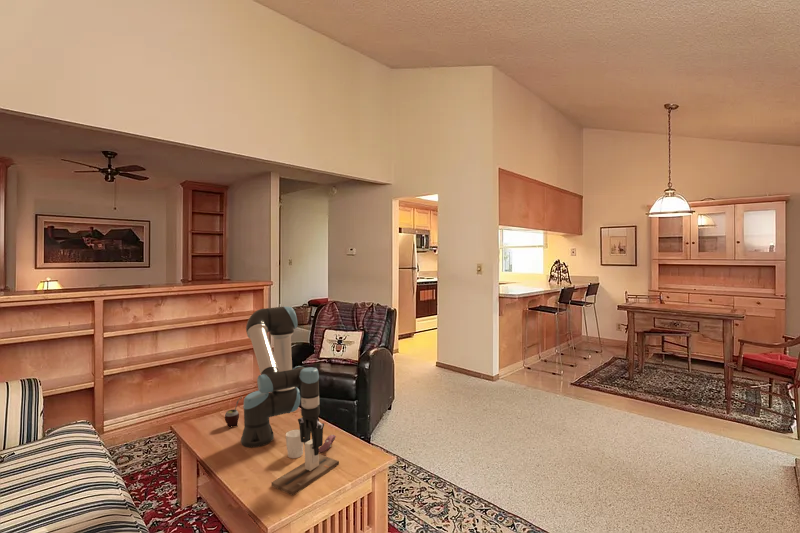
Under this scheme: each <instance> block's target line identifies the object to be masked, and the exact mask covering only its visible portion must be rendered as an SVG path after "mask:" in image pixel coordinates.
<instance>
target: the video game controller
mask: <svg viewBox="0 0 800 533" xmlns="http://www.w3.org/2000/svg"><path fill="white" fill-rule="evenodd" d="M336 438H337V436H336V435H335V434H330V435H328V436H327V437H326V439H325V440H324V443H323V444H322V446H320V447H319V454H322V453H324V452H326V451H328V450H329V449H330V448H331V447H333V443H334V441H335V439H336Z"/></svg>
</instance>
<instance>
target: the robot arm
mask: <svg viewBox="0 0 800 533" xmlns="http://www.w3.org/2000/svg"><path fill="white" fill-rule="evenodd" d="M249 316H250V317H249V318H248V319H247V323H246V327H245V330H246V335H247V338H248V339H250V341H251V344H252V345H251V346H252V348H253V353H254V355H255V359H256V362H257V366H258V370H259V373H260V375H258V376H257V379H256V382H257V390H256V391H253V392H250V393H248V394H247V395H246V396H245V397H244V398H243V406H242V407H243V417H244V418H243V420H244V421H243V423H244V424H243V426H244V427H243V431H242V434H241V438H240V443H241V444H240V445H242V446H243V447H245V448H258V447H263V446H265V445H268V444H270V443H271V442H273V440H274V434H275V433H274V430H273V428H272V426H271V424H270V418H272V417H277V416H280V415H285V414H290V413H294V412H296V411H297V410H299V407H300V406H301V407H300V411H301V412H300V413H301V417H300V418H298V419H297V422H298V426H299V430H300V438H301V442H303V444H304V443H305V442H307V441H309V440H311V439H312V442H313V447H312V463H313V464H314V463H316V462H317V461H318V454H320V452H319V448H320V447H321V446H322V445H323V444H324V443H323V440H324V438H323V437H324V427H325V423H321V422H320V419H319V415H320V414H321V410H320V408H321V407H320V383H319V382H320V381H319V380H320V374H319V370H318V368H317V367H312V366H310V367H308V366H307V367H305V366H302V365H298V366H297V365H296V366H295V367H293V360H292V354H293V353H292V336H293V334H295V333H294V331H295V329H297V328H298V324H299V323H298V317H297V314H296V311H295V309H294V308H293V307H292V306H278V307H277V306H276V307H275V306H274V307H268V308H260V309H257V310H256V311H254V312H253V313H251V315H249ZM268 333H269V335H270V336H271V337H272V339H273V348H272V345H271V342H270V338H269V335H268ZM299 388H300V389H299Z"/></svg>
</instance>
